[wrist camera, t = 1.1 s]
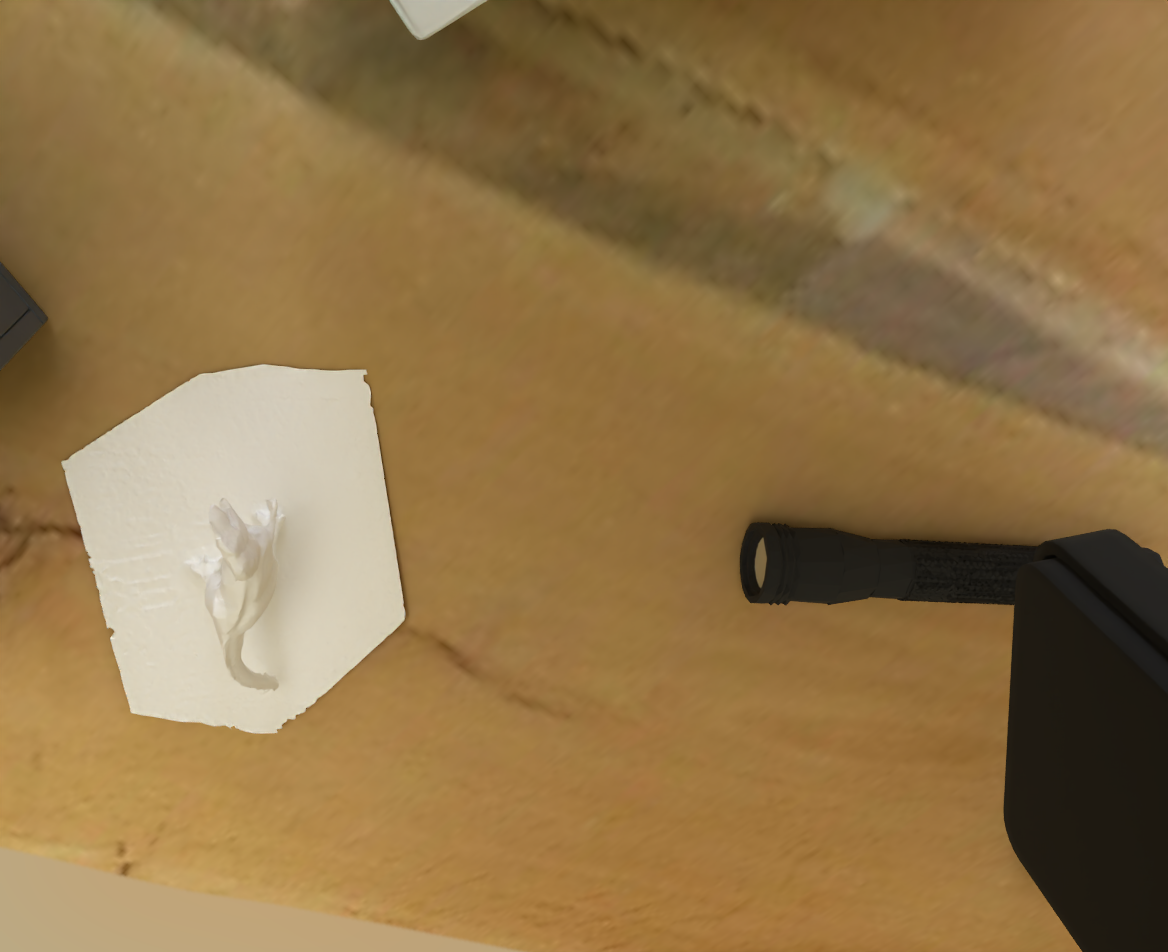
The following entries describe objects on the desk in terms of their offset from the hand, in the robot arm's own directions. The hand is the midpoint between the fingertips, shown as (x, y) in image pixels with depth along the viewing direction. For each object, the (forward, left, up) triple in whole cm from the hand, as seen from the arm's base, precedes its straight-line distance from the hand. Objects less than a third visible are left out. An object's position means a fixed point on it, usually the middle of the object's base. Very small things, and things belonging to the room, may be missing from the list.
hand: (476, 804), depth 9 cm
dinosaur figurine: (+8, -12, -29) cm, 32 cm away
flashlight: (+23, +10, -29) cm, 38 cm away
